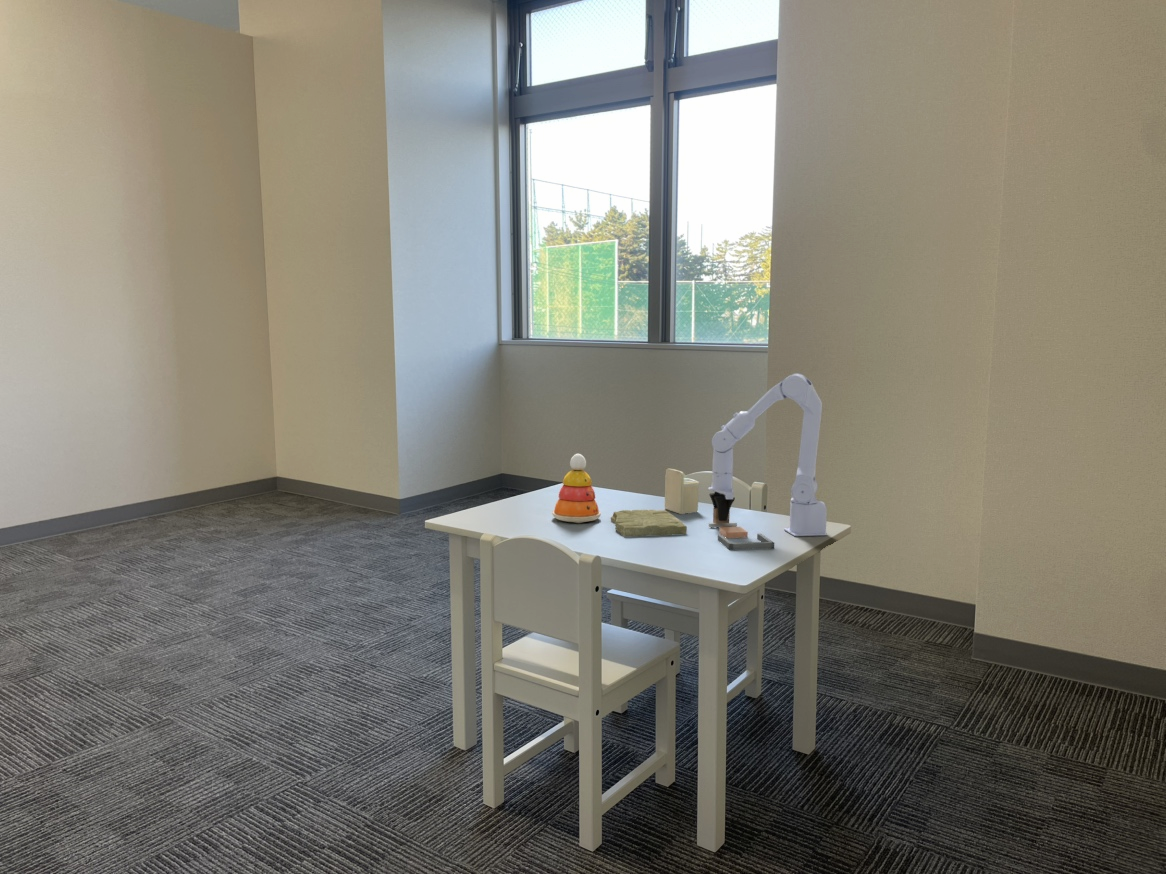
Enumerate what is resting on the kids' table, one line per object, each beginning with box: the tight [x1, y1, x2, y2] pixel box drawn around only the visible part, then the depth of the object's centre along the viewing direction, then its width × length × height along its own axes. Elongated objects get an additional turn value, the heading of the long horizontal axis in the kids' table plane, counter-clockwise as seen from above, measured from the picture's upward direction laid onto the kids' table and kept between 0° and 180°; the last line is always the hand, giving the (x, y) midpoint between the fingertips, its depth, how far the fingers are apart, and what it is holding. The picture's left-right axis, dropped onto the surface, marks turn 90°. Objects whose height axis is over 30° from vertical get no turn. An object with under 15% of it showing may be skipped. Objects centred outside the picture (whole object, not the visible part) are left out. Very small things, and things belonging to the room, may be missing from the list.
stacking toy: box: [551, 453, 601, 524], centre depth 253 cm, size 14×14×20 cm
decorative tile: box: [610, 509, 688, 537], centre depth 245 cm, size 19×20×4 cm
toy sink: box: [664, 468, 701, 515], centre depth 267 cm, size 8×7×13 cm
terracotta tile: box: [719, 526, 749, 539], centre depth 237 cm, size 6×6×2 cm
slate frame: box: [717, 533, 775, 551], centre depth 227 cm, size 12×10×2 cm
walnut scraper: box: [708, 507, 738, 528], centre depth 247 cm, size 8×3×5 cm, turn 99°
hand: (721, 519), depth 247 cm, fingers closed on walnut scraper, 2 cm apart
